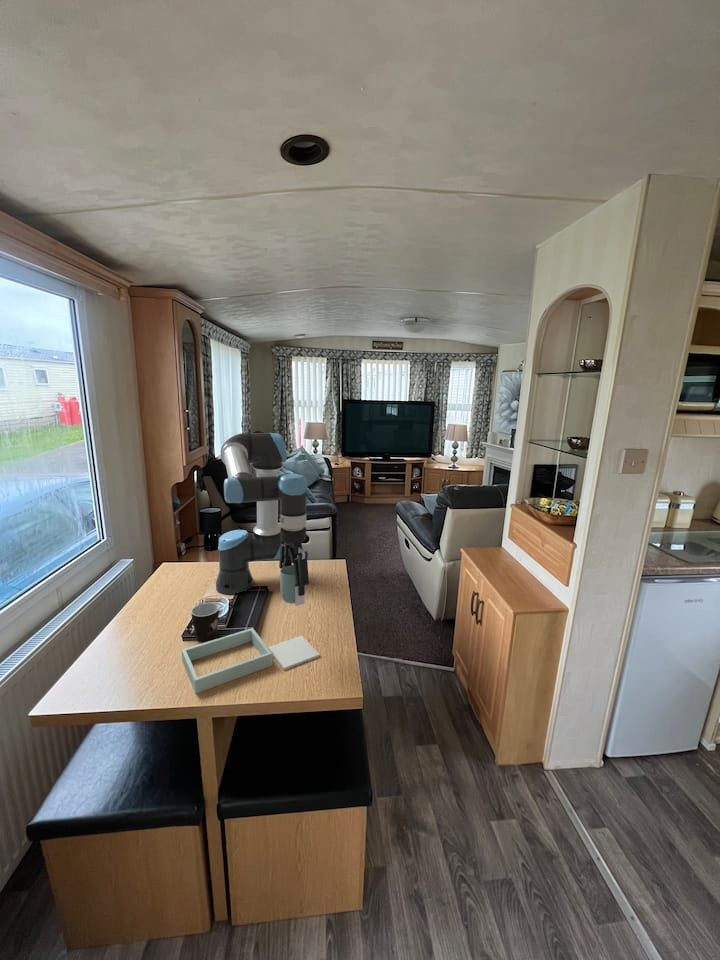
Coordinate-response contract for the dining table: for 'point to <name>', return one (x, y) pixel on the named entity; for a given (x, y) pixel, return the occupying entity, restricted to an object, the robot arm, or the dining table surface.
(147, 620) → the dining table surface
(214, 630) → the coffee mug
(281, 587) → the cup
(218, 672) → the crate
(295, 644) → the plate
